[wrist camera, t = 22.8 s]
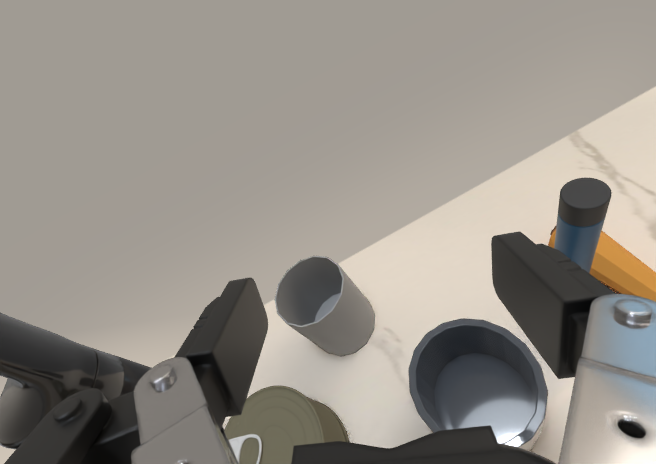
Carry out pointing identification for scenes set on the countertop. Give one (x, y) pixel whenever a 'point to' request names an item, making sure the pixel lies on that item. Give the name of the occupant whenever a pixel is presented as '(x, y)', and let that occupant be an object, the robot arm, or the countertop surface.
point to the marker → (581, 219)
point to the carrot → (620, 268)
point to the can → (280, 426)
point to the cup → (325, 306)
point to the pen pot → (479, 382)
